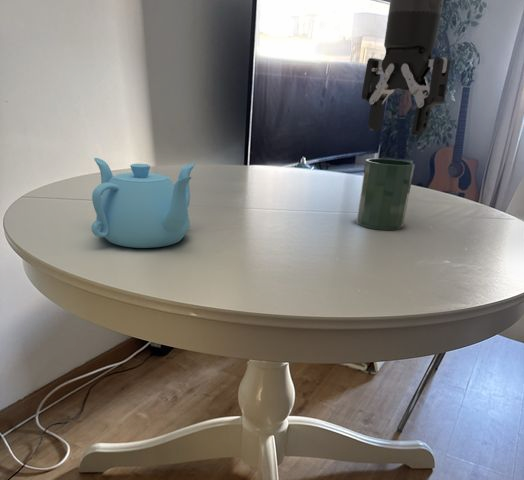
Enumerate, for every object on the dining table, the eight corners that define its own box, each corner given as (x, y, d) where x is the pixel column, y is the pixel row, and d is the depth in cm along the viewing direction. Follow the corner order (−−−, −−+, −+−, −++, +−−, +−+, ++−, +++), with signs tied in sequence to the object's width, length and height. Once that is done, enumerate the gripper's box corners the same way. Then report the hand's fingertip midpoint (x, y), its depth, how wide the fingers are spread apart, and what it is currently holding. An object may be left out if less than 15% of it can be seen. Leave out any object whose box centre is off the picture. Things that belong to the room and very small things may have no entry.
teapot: (80, 252, 63) (69, 170, 58) (103, 223, 76) (95, 154, 71) (193, 254, 65) (191, 175, 60) (196, 226, 78) (195, 158, 73)
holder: (376, 217, 90) (386, 157, 85) (411, 227, 85) (424, 164, 80) (347, 221, 86) (356, 159, 81) (382, 232, 80) (394, 166, 75)
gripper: (472, 11, 68) (446, 136, 75) (392, 18, 77) (376, 128, 85) (442, 3, 63) (417, 137, 71) (361, 12, 73) (347, 128, 81)
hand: (395, 132), depth 78 cm, fingers open, 8 cm apart
